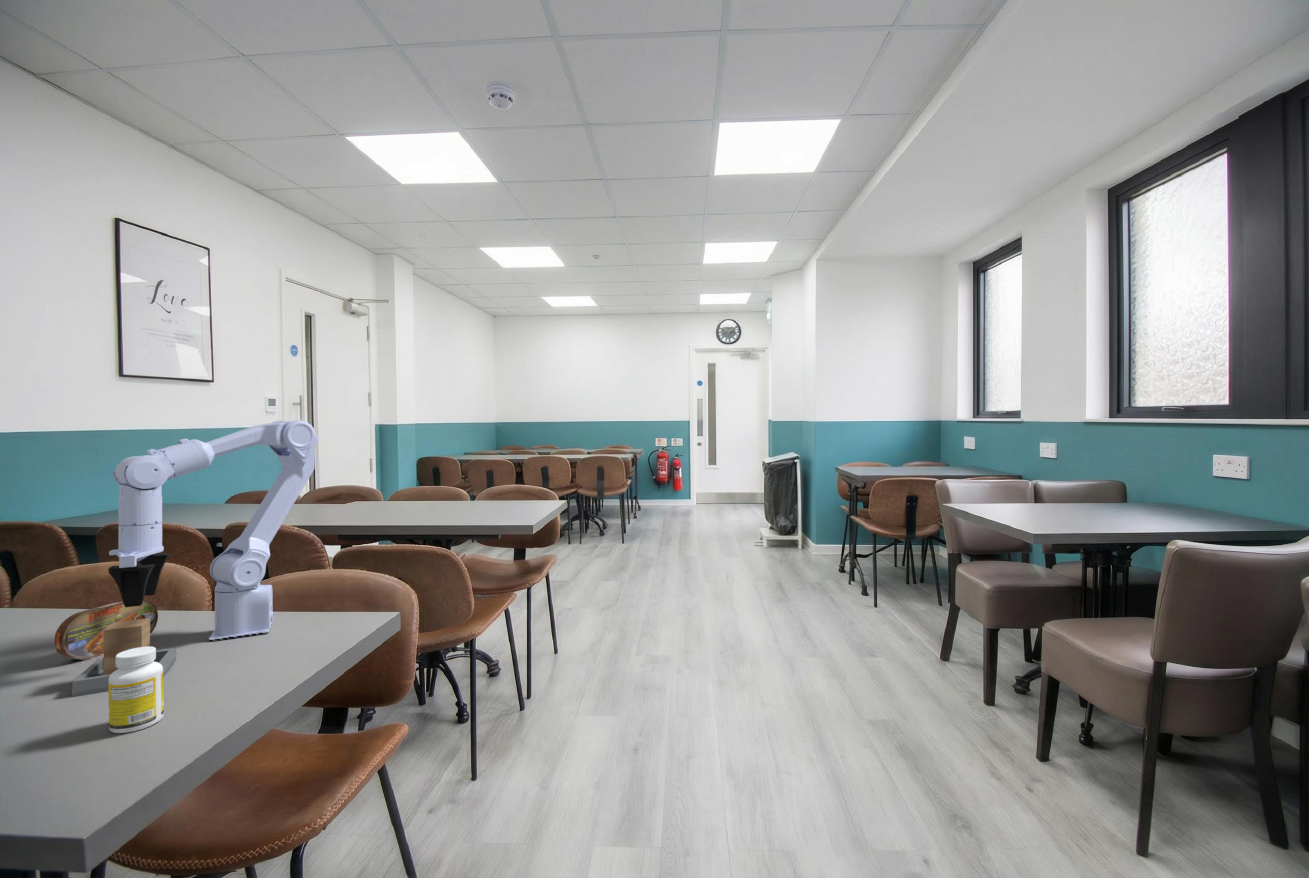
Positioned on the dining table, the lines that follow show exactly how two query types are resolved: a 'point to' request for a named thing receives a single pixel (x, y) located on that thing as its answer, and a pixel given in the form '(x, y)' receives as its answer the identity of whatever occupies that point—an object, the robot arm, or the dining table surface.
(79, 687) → the tray
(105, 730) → the dining table surface
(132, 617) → the tin
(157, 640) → the dining table surface
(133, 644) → the block
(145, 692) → the supplement bottle
